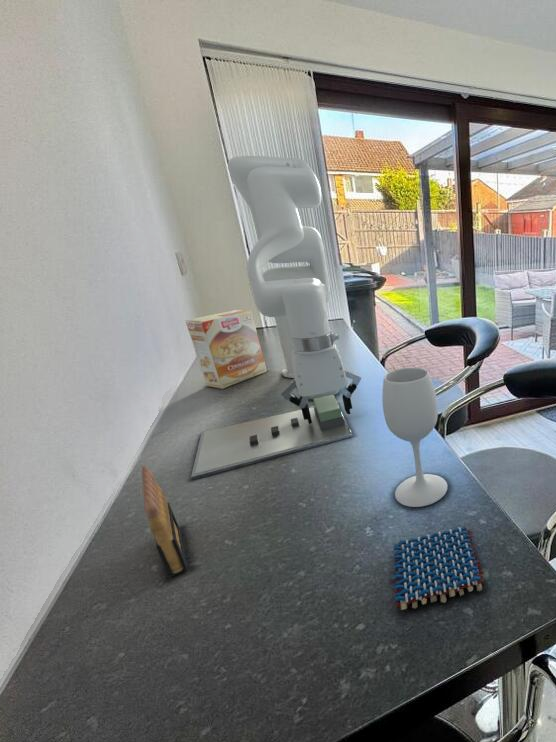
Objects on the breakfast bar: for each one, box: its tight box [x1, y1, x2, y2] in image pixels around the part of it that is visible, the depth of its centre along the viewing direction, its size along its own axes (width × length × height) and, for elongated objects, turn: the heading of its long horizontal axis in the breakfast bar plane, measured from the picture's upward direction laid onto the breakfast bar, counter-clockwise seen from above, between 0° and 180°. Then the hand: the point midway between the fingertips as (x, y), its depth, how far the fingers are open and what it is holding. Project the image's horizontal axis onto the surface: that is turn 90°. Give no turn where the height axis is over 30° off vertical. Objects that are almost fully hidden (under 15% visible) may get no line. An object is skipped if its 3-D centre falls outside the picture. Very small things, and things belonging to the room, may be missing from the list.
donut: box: [308, 390, 341, 400], centre depth 107 cm, size 10×4×10 cm
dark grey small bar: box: [291, 418, 299, 427], centre depth 89 cm, size 3×1×1 cm, turn 31°
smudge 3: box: [250, 435, 258, 445], centre depth 82 cm, size 3×1×1 cm, turn 31°
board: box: [190, 405, 354, 481], centre depth 86 cm, size 20×28×1 cm
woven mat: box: [393, 526, 485, 611], centre depth 51 cm, size 10×11×2 cm
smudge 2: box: [271, 426, 280, 436], centre depth 86 cm, size 3×1×1 cm, turn 31°
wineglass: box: [381, 366, 448, 508], centre depth 63 cm, size 9×9×21 cm
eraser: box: [312, 395, 345, 431], centre depth 91 cm, size 10×5×4 cm, turn 31°
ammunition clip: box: [141, 465, 189, 578], centre depth 53 cm, size 11×2×12 cm, turn 42°
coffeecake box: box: [185, 309, 268, 390], centre depth 117 cm, size 15×7×20 cm, turn 160°
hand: (329, 416), depth 91 cm, fingers open, 7 cm apart
